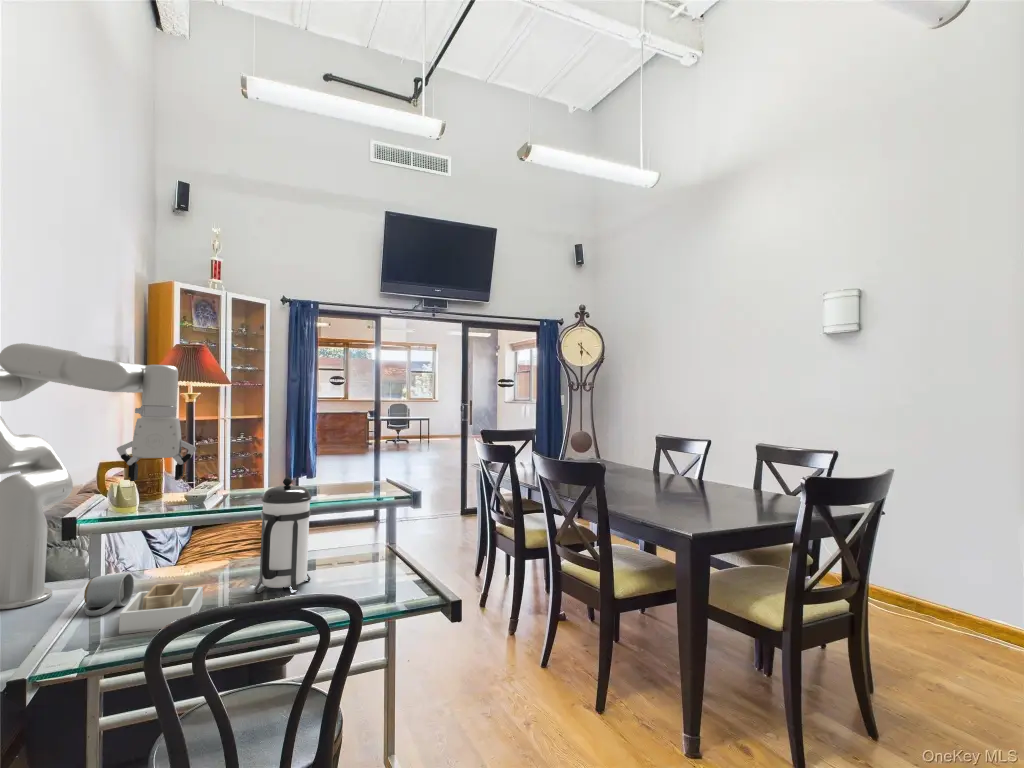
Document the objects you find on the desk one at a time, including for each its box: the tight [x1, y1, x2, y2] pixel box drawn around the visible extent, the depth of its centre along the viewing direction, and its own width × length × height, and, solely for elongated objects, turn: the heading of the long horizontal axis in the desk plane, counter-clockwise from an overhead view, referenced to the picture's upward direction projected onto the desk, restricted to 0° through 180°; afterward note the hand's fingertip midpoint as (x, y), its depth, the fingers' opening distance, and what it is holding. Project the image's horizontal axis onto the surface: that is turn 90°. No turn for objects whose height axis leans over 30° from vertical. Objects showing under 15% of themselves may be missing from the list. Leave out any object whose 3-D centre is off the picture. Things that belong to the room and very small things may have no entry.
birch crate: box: [143, 582, 184, 610], centre depth 126 cm, size 6×9×6 cm, turn 20°
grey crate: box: [118, 586, 204, 635], centre depth 126 cm, size 14×14×4 cm
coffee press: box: [254, 477, 312, 594], centre depth 148 cm, size 17×16×30 cm
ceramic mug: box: [83, 572, 135, 617], centre depth 131 cm, size 11×8×8 cm
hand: (156, 480), depth 138 cm, fingers open, 9 cm apart
